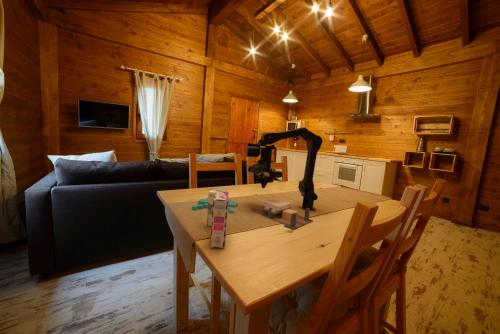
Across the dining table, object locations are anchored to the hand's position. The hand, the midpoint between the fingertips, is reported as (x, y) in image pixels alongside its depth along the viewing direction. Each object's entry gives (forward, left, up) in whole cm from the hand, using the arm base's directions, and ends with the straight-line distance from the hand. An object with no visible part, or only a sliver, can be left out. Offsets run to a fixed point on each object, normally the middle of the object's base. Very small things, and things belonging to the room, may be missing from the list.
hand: (263, 188), depth 112 cm
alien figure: (+16, -16, -12) cm, 26 cm away
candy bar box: (+38, +14, -11) cm, 42 cm away
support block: (0, +17, -10) cm, 20 cm away
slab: (0, +10, -7) cm, 12 cm away
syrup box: (+31, +3, -11) cm, 33 cm away
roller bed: (0, +11, -11) cm, 16 cm away
